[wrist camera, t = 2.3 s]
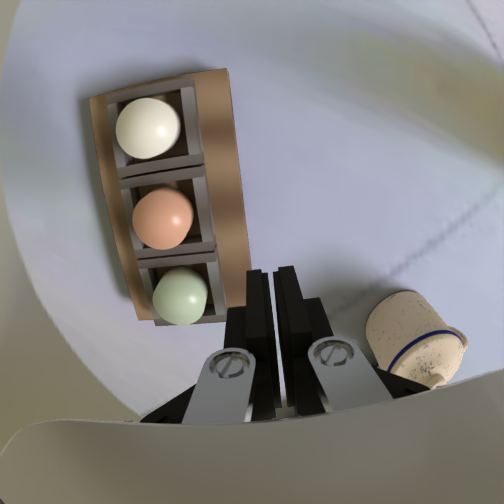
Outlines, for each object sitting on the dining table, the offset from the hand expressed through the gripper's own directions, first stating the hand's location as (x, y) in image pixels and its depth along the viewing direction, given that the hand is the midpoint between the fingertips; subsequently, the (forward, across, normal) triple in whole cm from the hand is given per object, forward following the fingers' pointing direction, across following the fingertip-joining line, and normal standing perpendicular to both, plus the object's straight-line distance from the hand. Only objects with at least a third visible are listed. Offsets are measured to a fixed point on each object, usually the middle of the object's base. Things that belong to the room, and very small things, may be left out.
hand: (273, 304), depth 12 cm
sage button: (+15, +7, +7) cm, 18 cm away
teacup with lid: (+19, -16, +17) cm, 30 cm away
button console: (+19, +7, 0) cm, 20 cm away
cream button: (+15, +7, -7) cm, 18 cm away
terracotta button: (+15, +7, 0) cm, 16 cm away
